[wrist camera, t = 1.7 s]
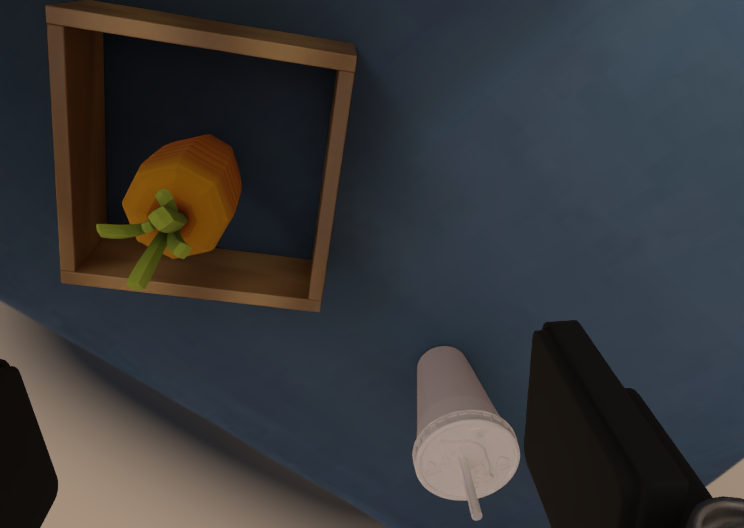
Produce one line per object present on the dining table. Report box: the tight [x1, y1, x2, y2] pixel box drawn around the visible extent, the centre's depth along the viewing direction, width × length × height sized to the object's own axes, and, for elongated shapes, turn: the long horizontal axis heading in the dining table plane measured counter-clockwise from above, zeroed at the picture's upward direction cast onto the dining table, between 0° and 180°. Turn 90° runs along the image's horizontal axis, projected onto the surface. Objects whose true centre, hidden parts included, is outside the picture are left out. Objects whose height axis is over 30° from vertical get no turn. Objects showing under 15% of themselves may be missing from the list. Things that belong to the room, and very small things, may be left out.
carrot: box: [96, 134, 242, 291], centre depth 31 cm, size 5×5×15 cm
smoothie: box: [412, 346, 520, 520], centre depth 39 cm, size 6×6×14 cm
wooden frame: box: [45, 0, 357, 312], centre depth 35 cm, size 15×15×6 cm
